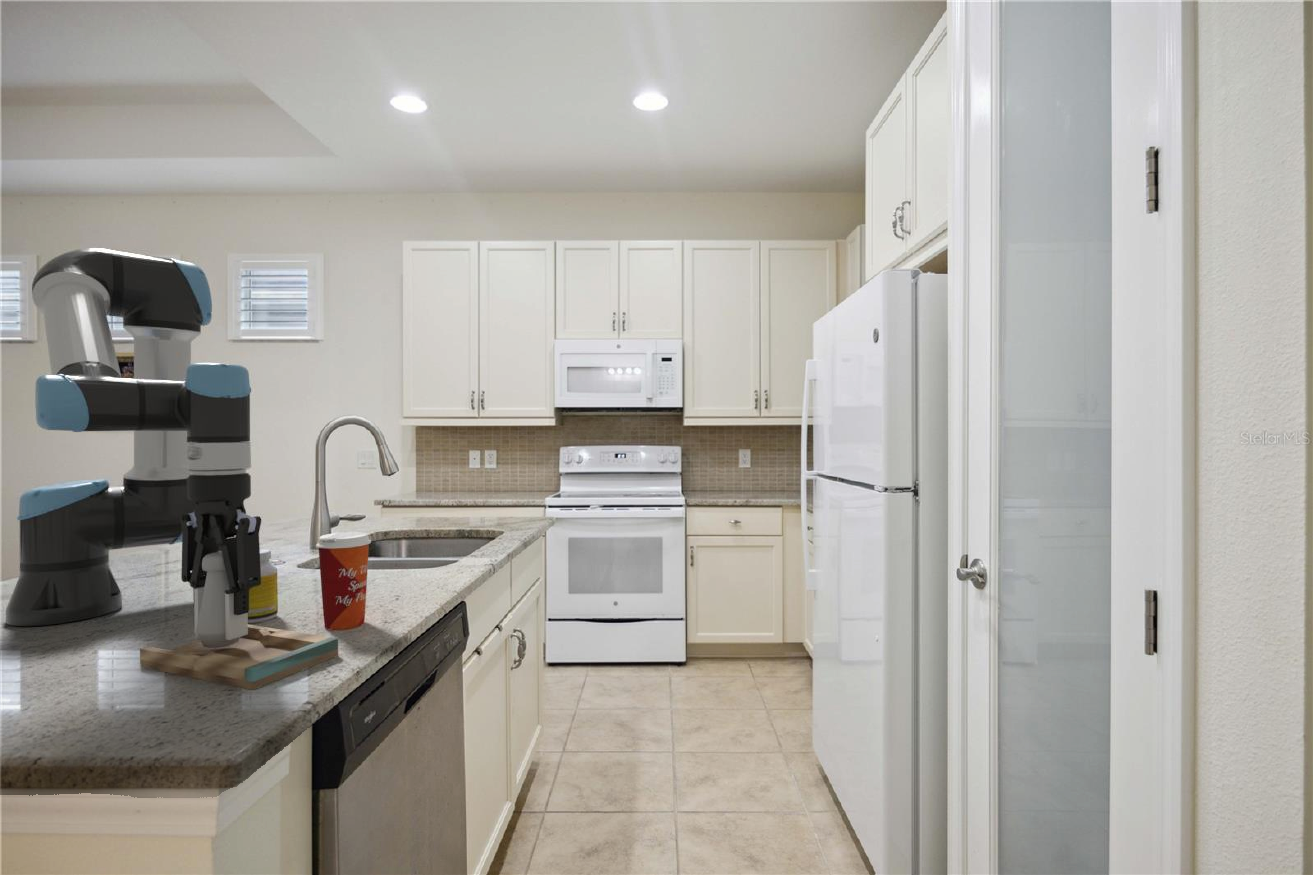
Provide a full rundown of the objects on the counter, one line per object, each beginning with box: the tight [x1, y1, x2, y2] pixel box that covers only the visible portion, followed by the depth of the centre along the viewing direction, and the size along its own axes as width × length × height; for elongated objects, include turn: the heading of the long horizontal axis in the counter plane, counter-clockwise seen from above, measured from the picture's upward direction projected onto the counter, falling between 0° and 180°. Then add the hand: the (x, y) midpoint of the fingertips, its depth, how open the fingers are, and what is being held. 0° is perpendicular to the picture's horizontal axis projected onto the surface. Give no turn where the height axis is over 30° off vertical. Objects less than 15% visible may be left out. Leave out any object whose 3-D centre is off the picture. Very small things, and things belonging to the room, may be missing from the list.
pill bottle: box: [238, 548, 279, 624], centre depth 111 cm, size 6×6×12 cm
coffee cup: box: [315, 531, 372, 631], centre depth 107 cm, size 8×8×15 cm
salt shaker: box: [196, 552, 240, 648], centre depth 92 cm, size 6×6×13 cm
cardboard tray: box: [139, 624, 339, 691], centre depth 91 cm, size 22×13×2 cm, turn 69°
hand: (221, 633), depth 92 cm, fingers closed on salt shaker, 6 cm apart
